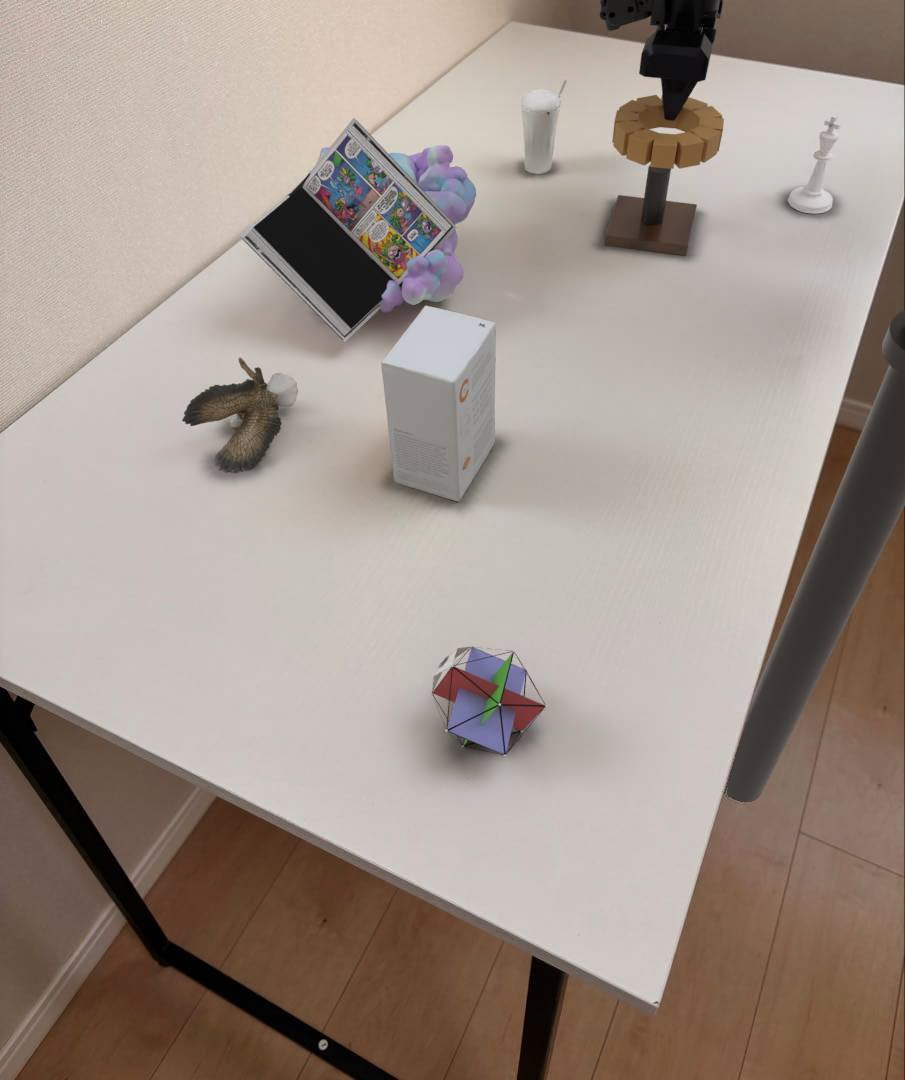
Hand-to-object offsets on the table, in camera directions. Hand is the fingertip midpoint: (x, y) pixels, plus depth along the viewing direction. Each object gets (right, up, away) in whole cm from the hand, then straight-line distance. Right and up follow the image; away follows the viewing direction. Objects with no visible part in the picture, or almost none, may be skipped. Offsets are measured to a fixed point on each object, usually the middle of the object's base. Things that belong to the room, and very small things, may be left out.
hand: (671, 113), depth 99 cm
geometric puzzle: (-21, -58, -34) cm, 70 cm away
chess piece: (+18, -6, +10) cm, 22 cm away
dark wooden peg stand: (-1, -10, +7) cm, 12 cm away
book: (-31, -18, +1) cm, 36 cm away
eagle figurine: (-41, -36, -14) cm, 56 cm away
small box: (-24, -38, -17) cm, 48 cm away
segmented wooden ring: (-1, -4, -2) cm, 4 cm away
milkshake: (-12, +1, +17) cm, 21 cm away
